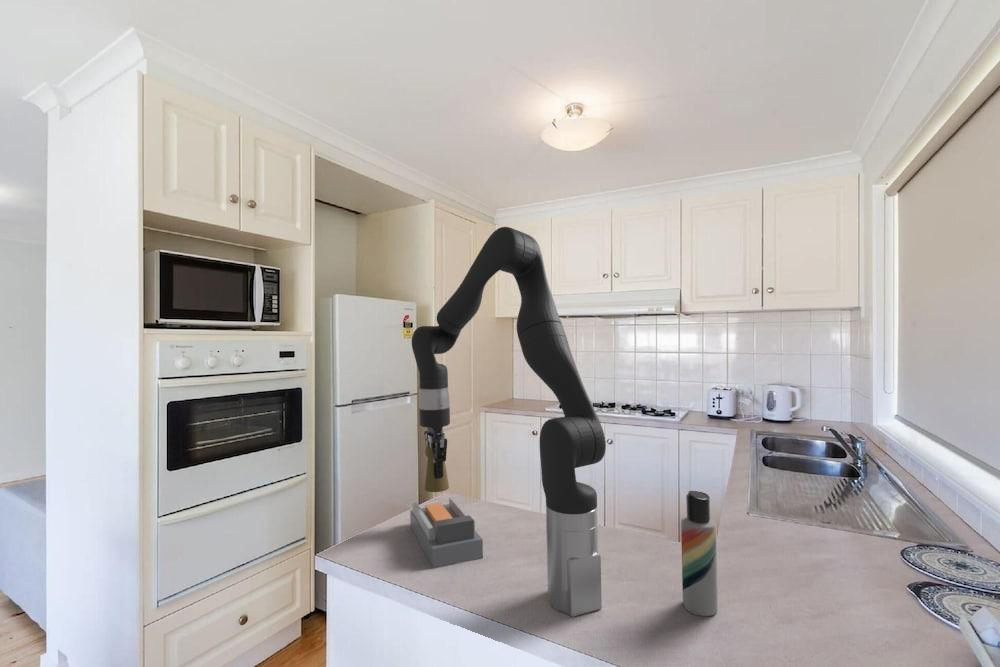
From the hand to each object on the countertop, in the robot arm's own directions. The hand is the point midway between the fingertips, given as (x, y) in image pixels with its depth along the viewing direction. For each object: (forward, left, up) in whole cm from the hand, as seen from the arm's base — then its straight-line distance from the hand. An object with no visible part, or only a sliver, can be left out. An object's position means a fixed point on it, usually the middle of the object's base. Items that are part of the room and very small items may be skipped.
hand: (436, 475), depth 117 cm
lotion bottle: (-51, -34, -14) cm, 63 cm away
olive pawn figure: (0, 0, -3) cm, 3 cm away
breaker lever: (-4, 0, -10) cm, 11 cm away
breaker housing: (-6, 0, -14) cm, 15 cm away
